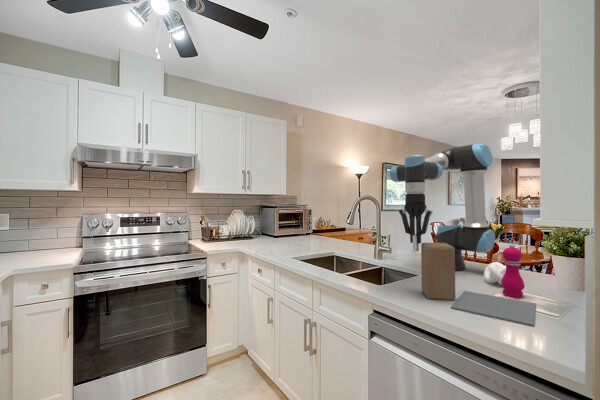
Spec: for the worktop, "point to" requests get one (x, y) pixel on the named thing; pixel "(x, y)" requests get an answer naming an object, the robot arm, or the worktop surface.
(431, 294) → the block
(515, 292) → the pepper mill
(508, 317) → the mat
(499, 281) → the white decorative knot
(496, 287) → the worktop surface
